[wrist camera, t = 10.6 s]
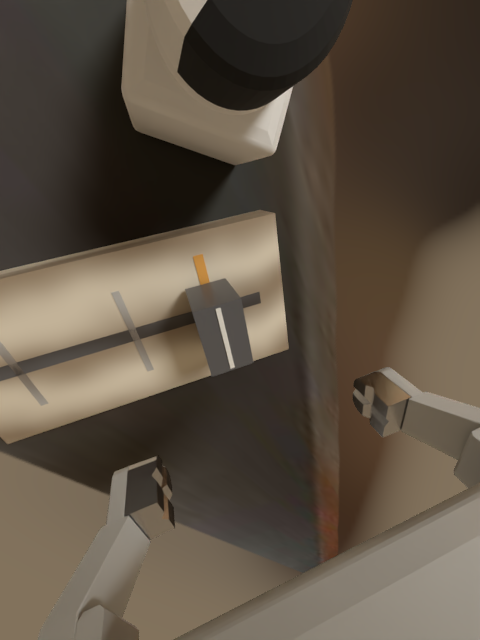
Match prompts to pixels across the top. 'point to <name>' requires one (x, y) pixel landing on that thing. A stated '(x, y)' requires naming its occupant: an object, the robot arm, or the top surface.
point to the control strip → (127, 319)
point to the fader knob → (220, 325)
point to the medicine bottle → (222, 69)
